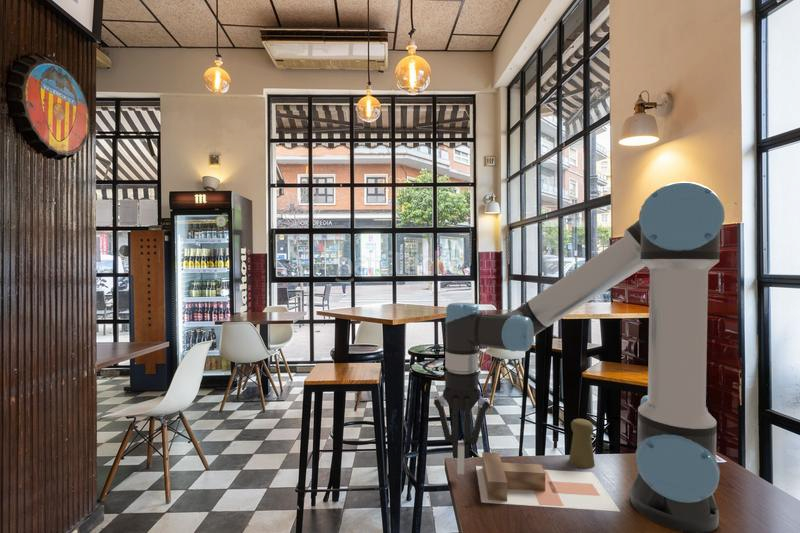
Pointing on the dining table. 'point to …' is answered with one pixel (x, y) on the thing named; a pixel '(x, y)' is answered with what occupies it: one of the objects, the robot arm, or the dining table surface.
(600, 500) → the mat
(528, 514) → the dining table surface
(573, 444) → the olive pepper mill
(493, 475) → the t block
